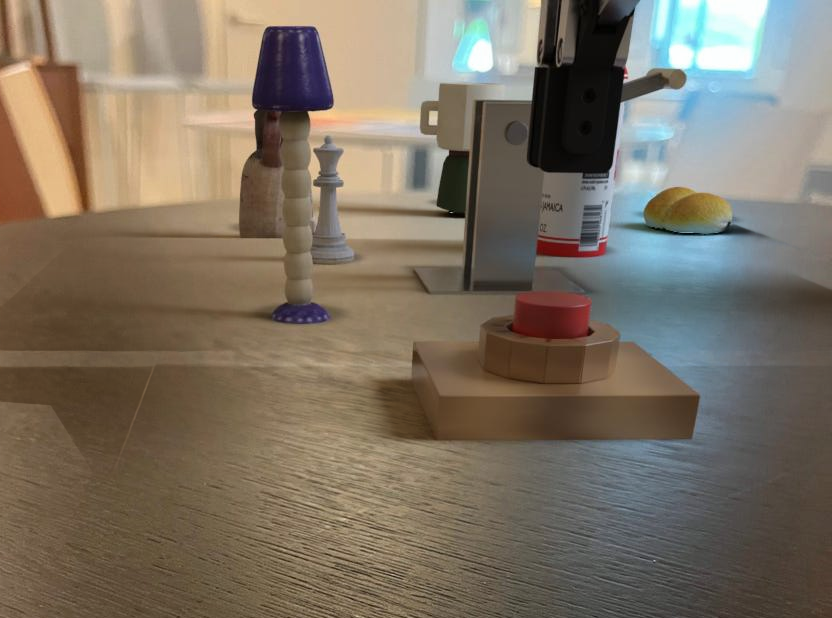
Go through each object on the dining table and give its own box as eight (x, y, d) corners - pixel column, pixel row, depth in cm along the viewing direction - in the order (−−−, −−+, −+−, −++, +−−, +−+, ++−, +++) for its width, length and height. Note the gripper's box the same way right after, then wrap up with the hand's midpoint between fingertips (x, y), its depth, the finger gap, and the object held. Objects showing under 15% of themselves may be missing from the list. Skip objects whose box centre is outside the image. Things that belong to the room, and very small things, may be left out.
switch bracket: (553, 284, 80) (573, 100, 74) (583, 309, 72) (609, 105, 66) (414, 283, 79) (422, 97, 73) (429, 308, 71) (440, 102, 65)
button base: (627, 381, 56) (639, 306, 54) (692, 441, 47) (708, 354, 45) (410, 382, 55) (414, 306, 53) (436, 442, 47) (441, 354, 45)
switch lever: (664, 93, 72) (659, 56, 71) (689, 96, 68) (684, 56, 66) (486, 152, 73) (478, 116, 72) (499, 158, 69) (491, 120, 68)
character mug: (515, 213, 117) (527, 84, 110) (508, 221, 111) (520, 85, 104) (421, 208, 119) (428, 81, 113) (409, 216, 113) (415, 82, 107)
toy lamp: (324, 345, 62) (325, 24, 54) (250, 340, 63) (239, 23, 54) (339, 327, 66) (342, 27, 58) (269, 323, 67) (262, 26, 58)
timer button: (576, 327, 51) (580, 290, 50) (595, 344, 48) (600, 306, 47) (505, 327, 51) (508, 290, 50) (520, 344, 48) (524, 306, 47)
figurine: (322, 237, 99) (322, 97, 93) (306, 248, 93) (305, 99, 87) (250, 234, 100) (246, 95, 94) (230, 245, 94) (224, 97, 88)
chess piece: (356, 277, 81) (359, 137, 76) (301, 277, 81) (300, 137, 76) (353, 267, 85) (355, 133, 80) (300, 267, 84) (299, 133, 79)
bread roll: (692, 238, 102) (700, 194, 100) (628, 226, 109) (634, 185, 107) (748, 232, 106) (756, 191, 104) (683, 221, 113) (689, 181, 111)
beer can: (557, 271, 85) (581, 49, 77) (516, 259, 90) (536, 49, 82) (618, 267, 87) (648, 51, 79) (575, 255, 92) (600, 51, 84)
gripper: (834, -486, 30) (714, 190, 39) (660, -318, 44) (600, 156, 53) (585, -500, 30) (522, 188, 39) (487, -326, 43) (457, 154, 52)
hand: (567, 166), depth 46 cm, fingers closed
